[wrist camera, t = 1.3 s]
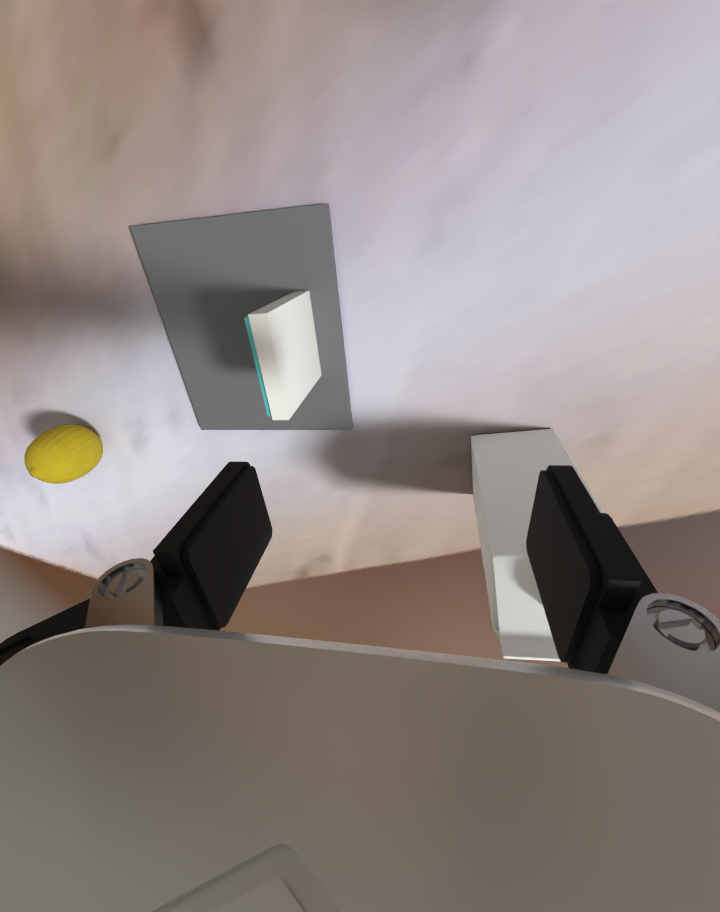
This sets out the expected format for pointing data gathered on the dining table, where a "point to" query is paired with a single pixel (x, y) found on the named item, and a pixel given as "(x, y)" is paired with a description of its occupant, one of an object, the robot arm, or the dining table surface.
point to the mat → (246, 309)
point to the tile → (284, 352)
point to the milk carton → (514, 533)
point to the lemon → (63, 454)
